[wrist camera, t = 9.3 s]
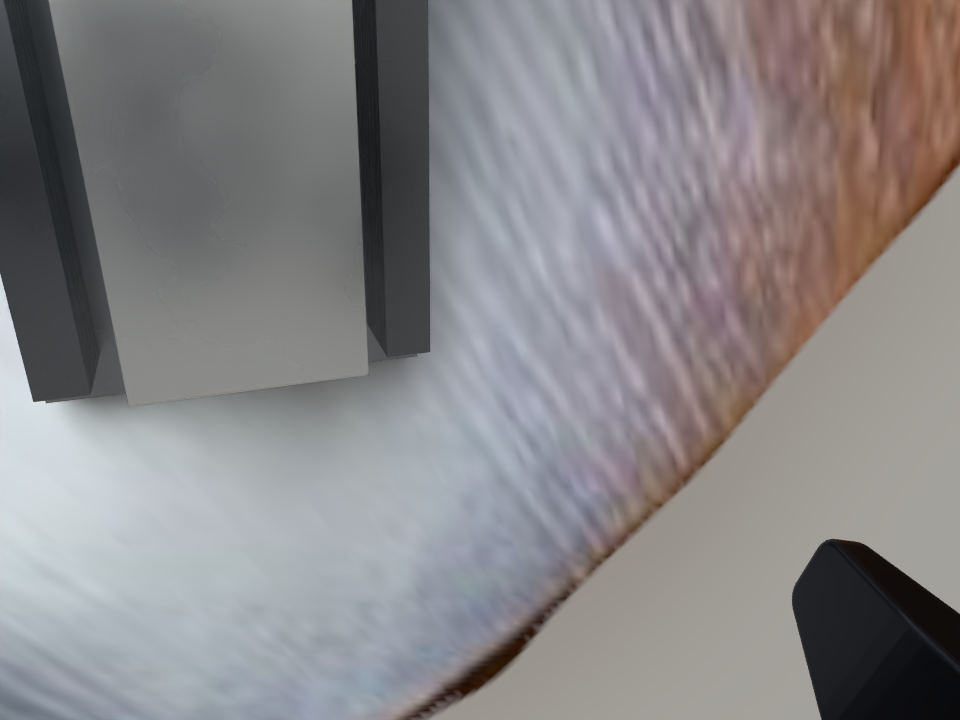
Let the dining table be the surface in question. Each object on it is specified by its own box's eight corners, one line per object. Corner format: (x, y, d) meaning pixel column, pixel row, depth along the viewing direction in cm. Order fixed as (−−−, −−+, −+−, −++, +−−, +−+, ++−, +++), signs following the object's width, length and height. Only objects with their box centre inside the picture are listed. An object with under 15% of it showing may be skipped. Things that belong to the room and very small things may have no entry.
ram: (327, 294, 17) (368, 374, 14) (140, 312, 16) (128, 407, 12) (299, -107, 14) (345, -150, 10) (62, -125, 13) (12, -183, 9)
